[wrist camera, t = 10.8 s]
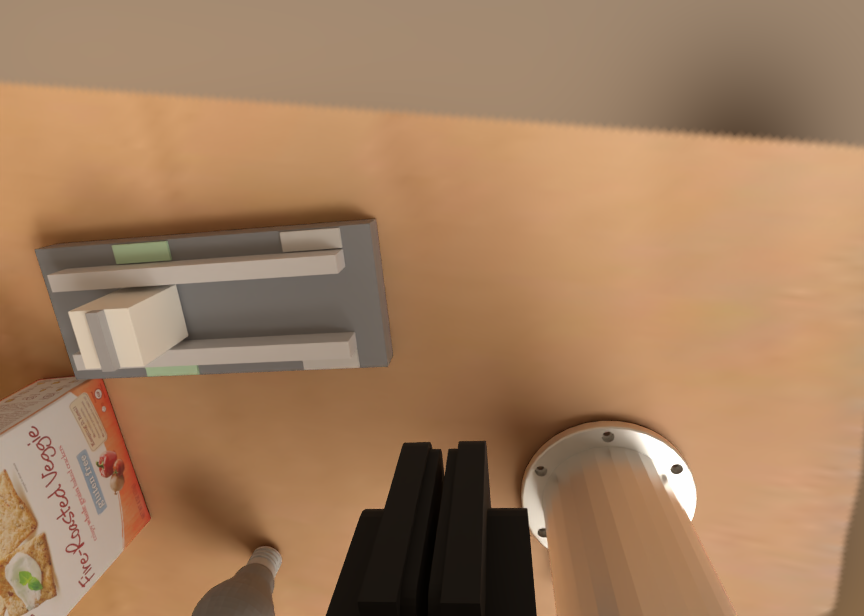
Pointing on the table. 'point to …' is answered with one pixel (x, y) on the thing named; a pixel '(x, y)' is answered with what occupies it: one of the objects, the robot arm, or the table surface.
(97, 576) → the cracker box
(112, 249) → the switch panel
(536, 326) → the table surface
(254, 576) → the light bulb
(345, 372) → the table surface
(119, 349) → the switch tab
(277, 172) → the table surface
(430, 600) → the robot arm
